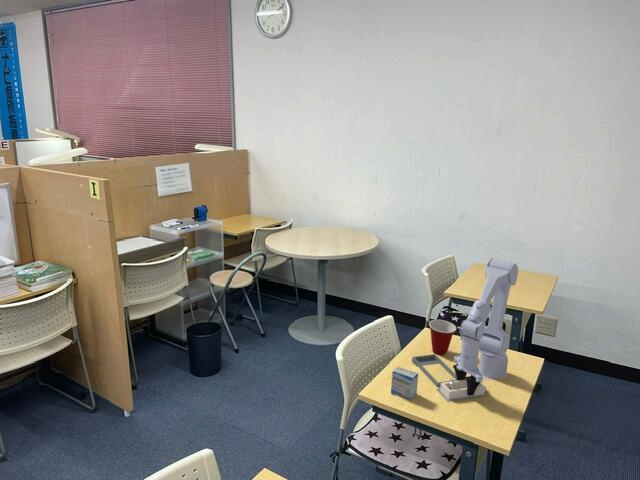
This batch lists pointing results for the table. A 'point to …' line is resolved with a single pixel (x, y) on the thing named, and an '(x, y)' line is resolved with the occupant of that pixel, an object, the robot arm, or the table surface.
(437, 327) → the plastic cup
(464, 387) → the cream rectangular sleeve
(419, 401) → the table surface
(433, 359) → the tray
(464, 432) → the table surface
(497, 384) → the table surface
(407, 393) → the medicine box
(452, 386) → the stake base
